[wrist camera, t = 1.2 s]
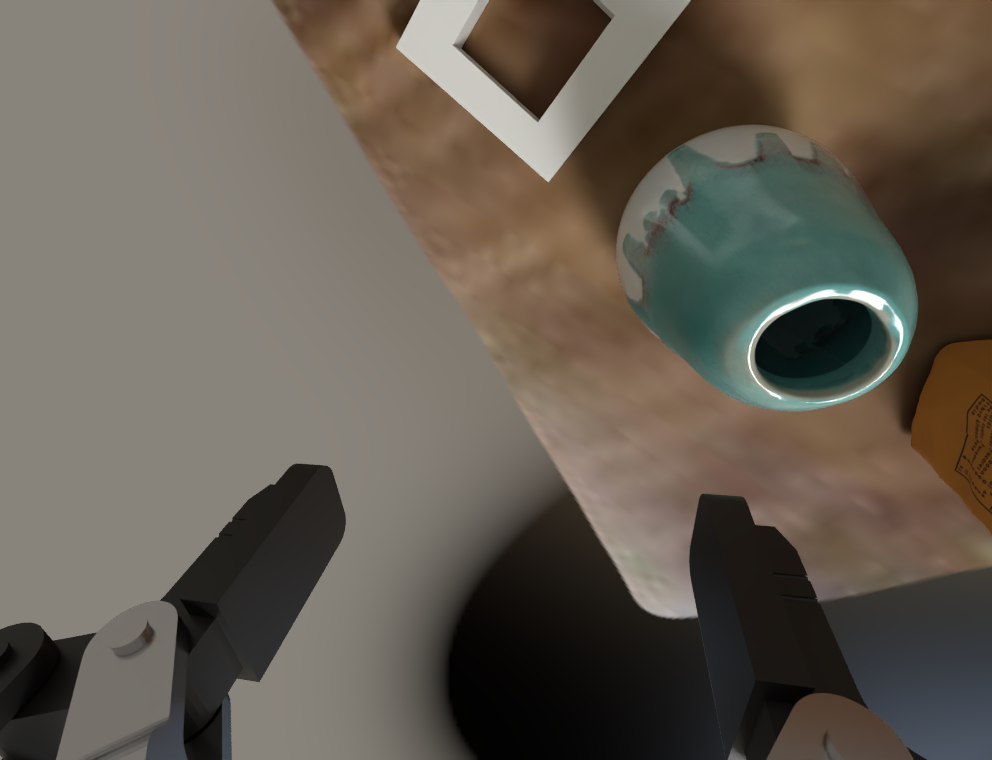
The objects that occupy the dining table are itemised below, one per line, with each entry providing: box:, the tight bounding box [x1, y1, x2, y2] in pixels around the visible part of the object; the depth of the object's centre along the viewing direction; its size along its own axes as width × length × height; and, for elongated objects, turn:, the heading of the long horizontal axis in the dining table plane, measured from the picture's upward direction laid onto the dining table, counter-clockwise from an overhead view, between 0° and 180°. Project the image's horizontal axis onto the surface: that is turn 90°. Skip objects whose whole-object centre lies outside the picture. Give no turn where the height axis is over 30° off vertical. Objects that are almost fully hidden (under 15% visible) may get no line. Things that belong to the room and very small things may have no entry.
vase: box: [616, 124, 918, 411], centre depth 22 cm, size 12×12×18 cm
